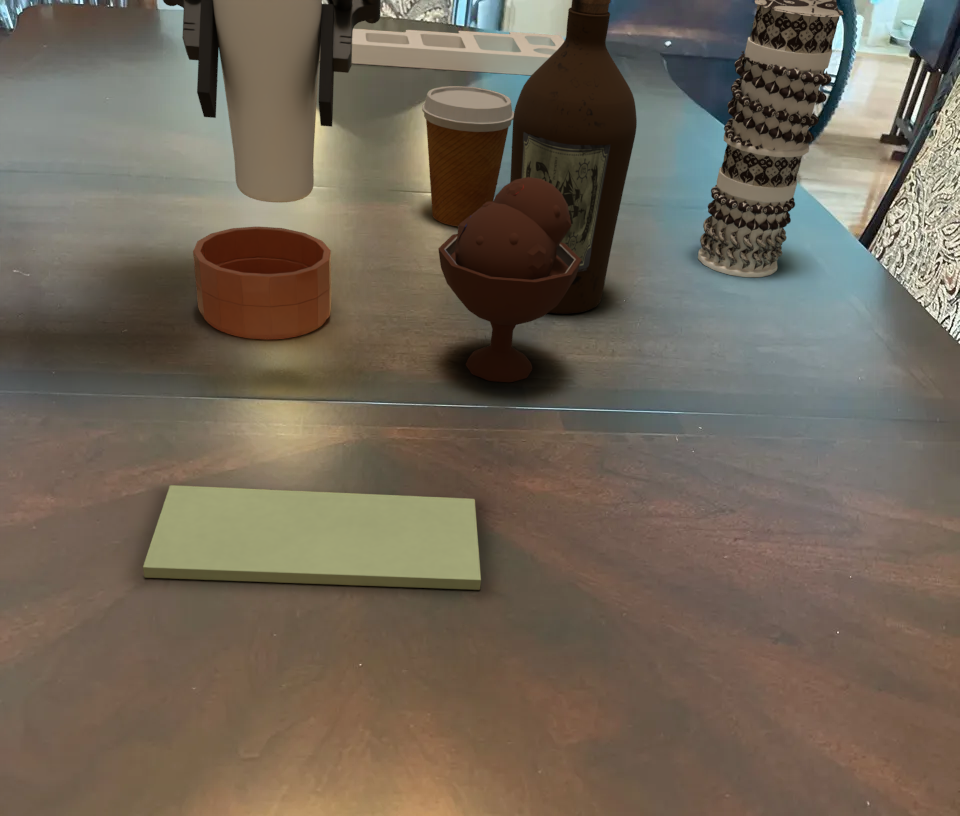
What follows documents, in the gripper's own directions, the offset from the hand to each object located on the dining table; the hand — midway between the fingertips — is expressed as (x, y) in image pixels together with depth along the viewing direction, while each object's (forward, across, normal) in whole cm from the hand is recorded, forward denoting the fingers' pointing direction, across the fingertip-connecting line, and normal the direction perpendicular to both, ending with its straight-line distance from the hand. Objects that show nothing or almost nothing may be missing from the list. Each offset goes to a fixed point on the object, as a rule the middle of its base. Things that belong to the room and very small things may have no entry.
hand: (266, 109), depth 67 cm
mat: (+28, +4, +1) cm, 28 cm away
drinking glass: (+2, 0, +7) cm, 7 cm away
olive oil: (-2, +24, +31) cm, 39 cm away
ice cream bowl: (+9, +18, +20) cm, 28 cm away
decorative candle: (-10, +45, +39) cm, 60 cm away
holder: (-70, +15, +100) cm, 123 cm away
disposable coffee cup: (-16, +16, +45) cm, 51 cm away
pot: (+3, -2, +25) cm, 26 cm away
